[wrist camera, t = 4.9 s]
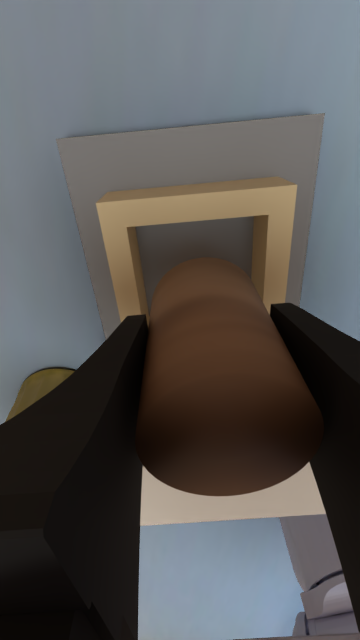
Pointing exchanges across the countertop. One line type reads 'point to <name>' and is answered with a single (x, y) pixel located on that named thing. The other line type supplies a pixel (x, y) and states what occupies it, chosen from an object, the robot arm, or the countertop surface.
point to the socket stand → (198, 246)
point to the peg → (220, 387)
